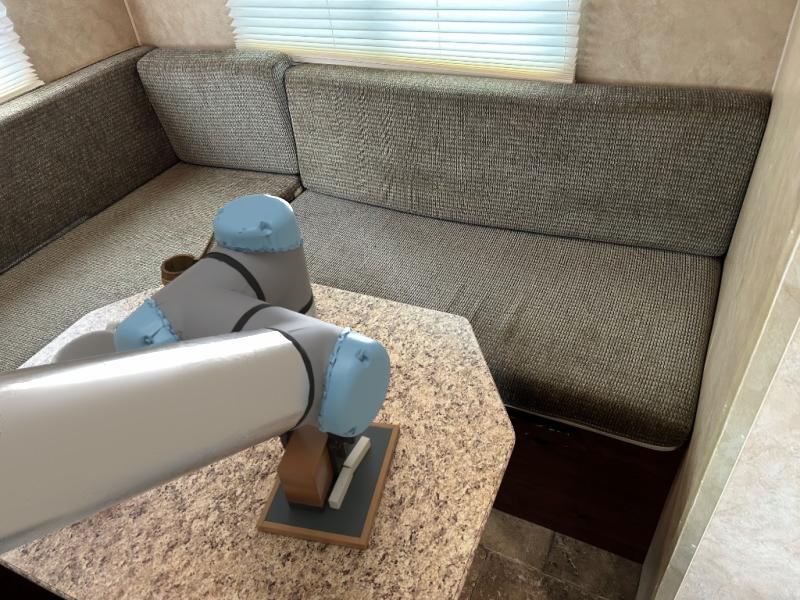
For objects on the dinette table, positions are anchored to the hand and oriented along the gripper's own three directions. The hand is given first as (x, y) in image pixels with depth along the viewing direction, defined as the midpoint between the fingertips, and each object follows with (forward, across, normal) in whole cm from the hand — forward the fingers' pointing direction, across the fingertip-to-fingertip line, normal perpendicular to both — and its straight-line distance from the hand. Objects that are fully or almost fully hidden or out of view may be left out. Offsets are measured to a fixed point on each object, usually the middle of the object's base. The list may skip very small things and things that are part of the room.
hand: (320, 465), depth 79 cm
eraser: (+1, 0, 0) cm, 1 cm away
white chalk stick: (+1, -4, -2) cm, 5 cm away
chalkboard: (+2, -1, 0) cm, 3 cm away
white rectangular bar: (+1, -4, +3) cm, 4 cm away
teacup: (+3, +40, -11) cm, 41 cm away
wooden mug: (+3, +31, -29) cm, 43 cm away
